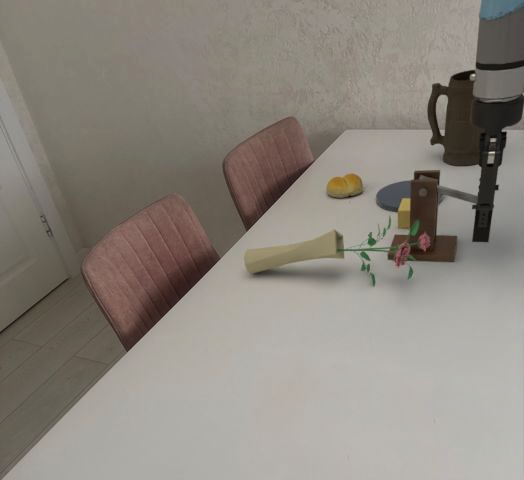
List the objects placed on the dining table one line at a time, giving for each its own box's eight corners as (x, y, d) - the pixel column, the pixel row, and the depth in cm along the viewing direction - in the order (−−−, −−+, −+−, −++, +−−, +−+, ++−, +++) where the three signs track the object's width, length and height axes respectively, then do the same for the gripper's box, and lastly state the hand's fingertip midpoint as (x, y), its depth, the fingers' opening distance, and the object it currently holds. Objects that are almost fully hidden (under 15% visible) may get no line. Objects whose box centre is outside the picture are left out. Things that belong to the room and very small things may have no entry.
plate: (446, 184, 118) (446, 179, 117) (439, 212, 108) (440, 207, 107) (382, 185, 124) (382, 180, 123) (370, 212, 113) (370, 207, 113)
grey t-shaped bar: (488, 203, 89) (494, 191, 88) (487, 216, 86) (493, 203, 84) (417, 184, 92) (421, 171, 90) (413, 195, 88) (417, 182, 87)
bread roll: (324, 189, 128) (323, 173, 125) (359, 183, 127) (359, 167, 125) (329, 201, 121) (328, 185, 119) (366, 195, 121) (365, 179, 118)
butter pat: (402, 215, 110) (402, 198, 107) (423, 215, 108) (423, 198, 106) (397, 228, 106) (397, 210, 103) (419, 228, 104) (419, 210, 101)
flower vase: (273, 293, 108) (442, 267, 91) (247, 311, 98) (432, 286, 81) (259, 240, 104) (432, 202, 87) (231, 252, 94) (421, 212, 77)
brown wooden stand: (457, 241, 98) (463, 166, 88) (453, 262, 92) (460, 184, 83) (394, 239, 102) (394, 168, 93) (387, 259, 97) (387, 185, 87)
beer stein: (492, 150, 129) (497, 64, 117) (488, 165, 122) (492, 76, 110) (431, 155, 136) (429, 74, 124) (423, 170, 129) (420, 86, 117)
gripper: (475, 82, 84) (462, 211, 99) (468, 115, 72) (454, 257, 86) (525, 78, 81) (504, 211, 96) (526, 111, 69) (502, 259, 83)
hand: (481, 233), depth 91 cm, fingers closed on grey t-shaped bar, 5 cm apart
